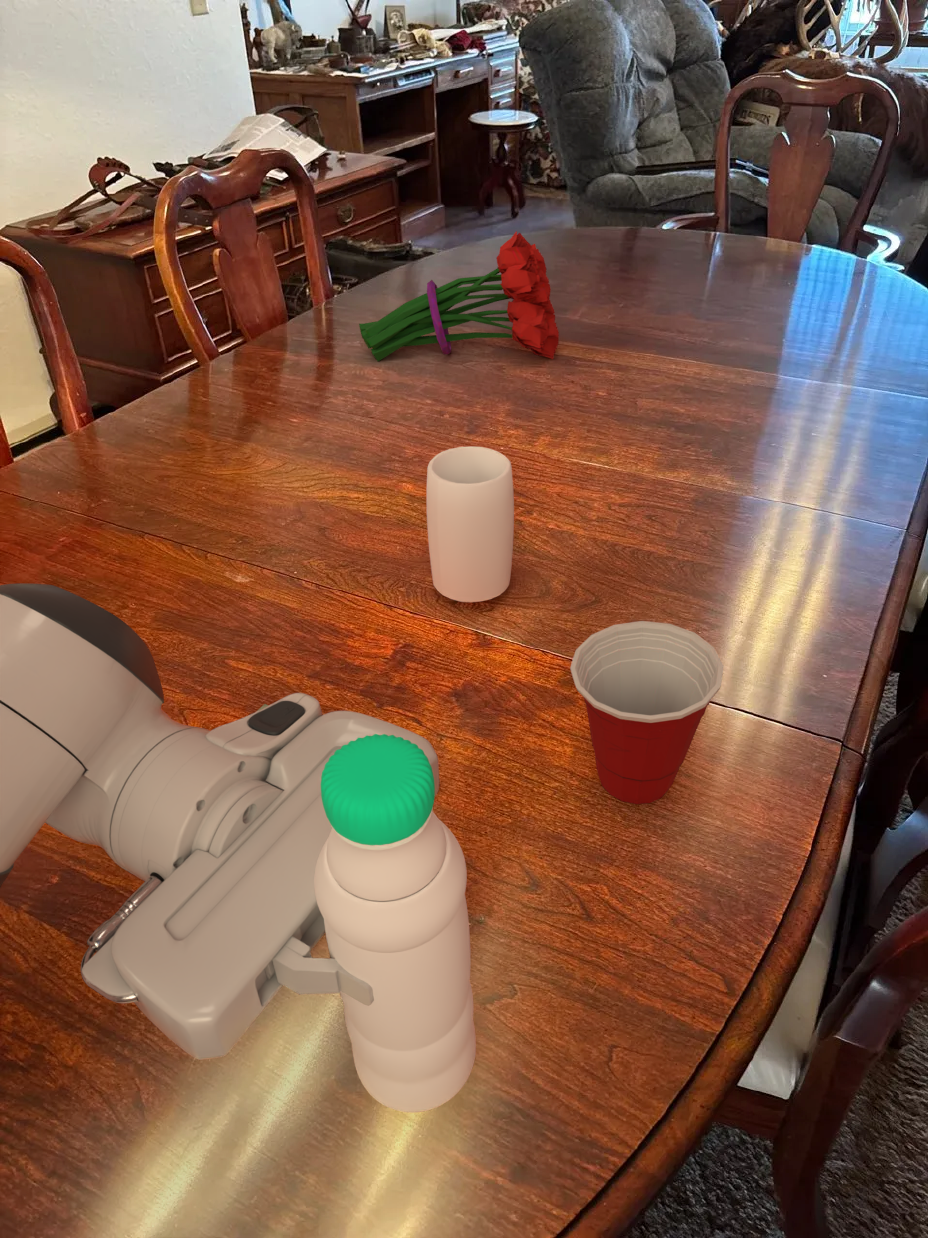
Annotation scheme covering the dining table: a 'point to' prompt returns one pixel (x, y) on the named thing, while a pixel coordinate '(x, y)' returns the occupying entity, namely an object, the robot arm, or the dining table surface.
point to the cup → (470, 522)
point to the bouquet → (430, 313)
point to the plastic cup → (644, 702)
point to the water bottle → (397, 922)
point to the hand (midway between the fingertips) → (419, 929)
